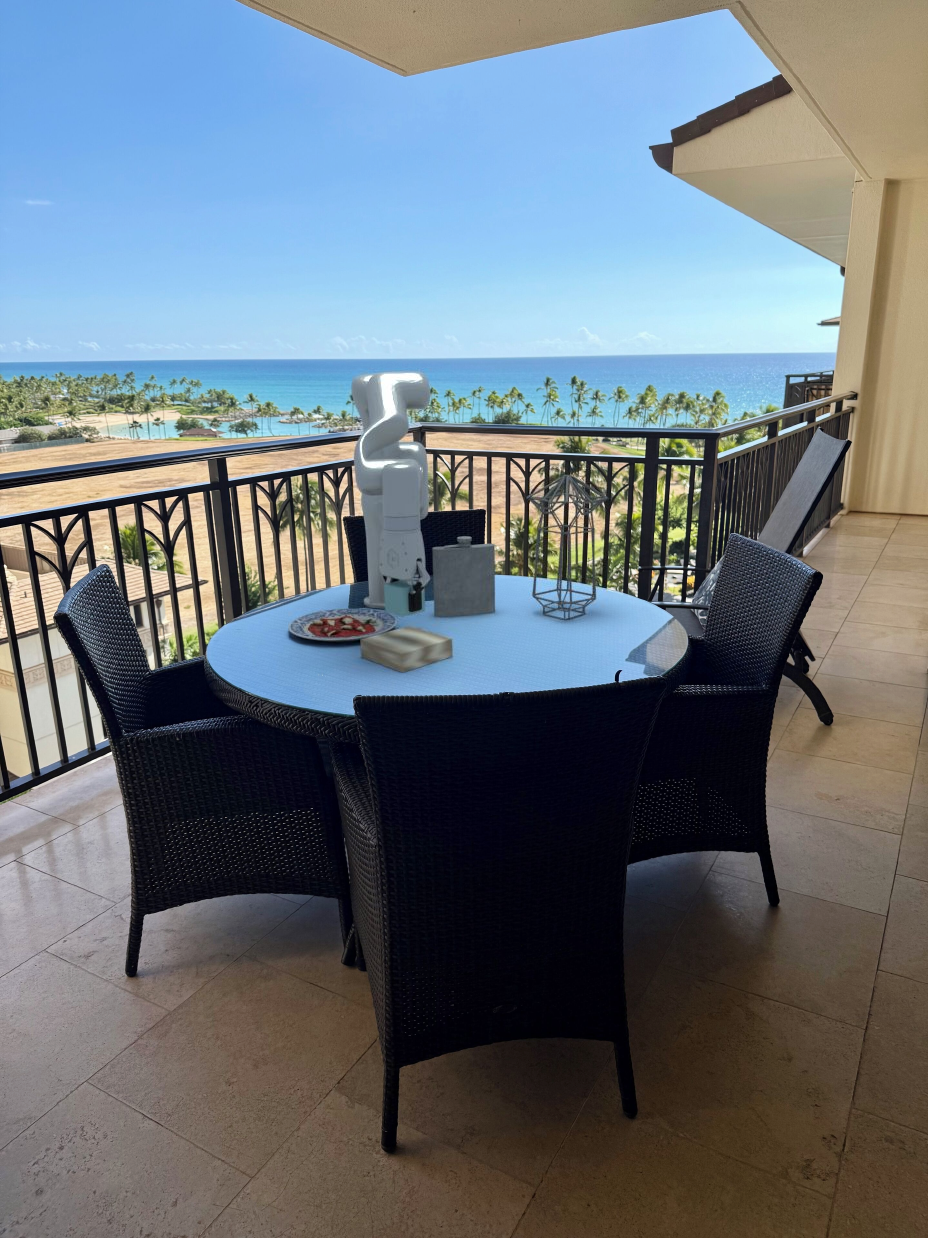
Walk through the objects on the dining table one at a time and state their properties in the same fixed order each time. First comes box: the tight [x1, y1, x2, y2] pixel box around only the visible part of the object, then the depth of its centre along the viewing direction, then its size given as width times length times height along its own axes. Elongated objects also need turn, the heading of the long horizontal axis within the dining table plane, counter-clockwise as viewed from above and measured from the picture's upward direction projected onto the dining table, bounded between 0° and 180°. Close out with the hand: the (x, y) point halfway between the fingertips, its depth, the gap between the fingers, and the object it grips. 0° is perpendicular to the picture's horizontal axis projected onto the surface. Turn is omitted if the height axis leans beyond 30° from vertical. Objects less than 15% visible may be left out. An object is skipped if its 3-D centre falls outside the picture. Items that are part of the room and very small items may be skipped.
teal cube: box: [384, 580, 426, 617], centre depth 171 cm, size 6×6×6 cm
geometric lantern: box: [526, 474, 610, 621], centre depth 201 cm, size 16×16×35 cm
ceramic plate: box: [288, 608, 398, 643], centre depth 194 cm, size 26×26×3 cm
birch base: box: [359, 625, 454, 673], centre depth 175 cm, size 14×14×4 cm
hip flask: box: [432, 535, 496, 618], centre depth 204 cm, size 16×4×20 cm, turn 104°
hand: (405, 607), depth 172 cm, fingers closed on teal cube, 6 cm apart
